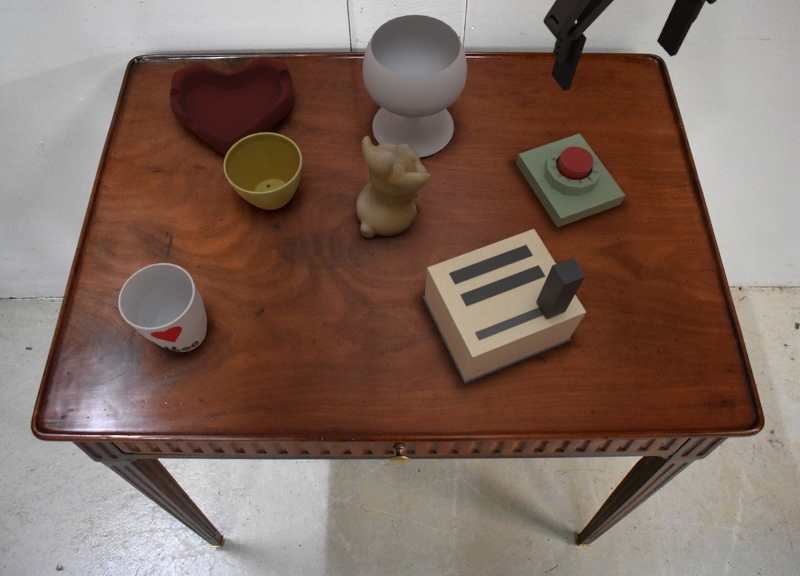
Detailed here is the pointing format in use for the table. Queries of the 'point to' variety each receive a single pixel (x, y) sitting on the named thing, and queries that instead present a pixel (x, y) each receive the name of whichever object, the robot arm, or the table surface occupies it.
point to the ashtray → (231, 100)
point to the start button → (575, 163)
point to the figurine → (389, 188)
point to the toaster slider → (560, 288)
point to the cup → (164, 307)
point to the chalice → (414, 81)
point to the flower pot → (264, 169)
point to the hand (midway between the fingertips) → (614, 64)
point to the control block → (568, 183)
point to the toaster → (496, 306)
